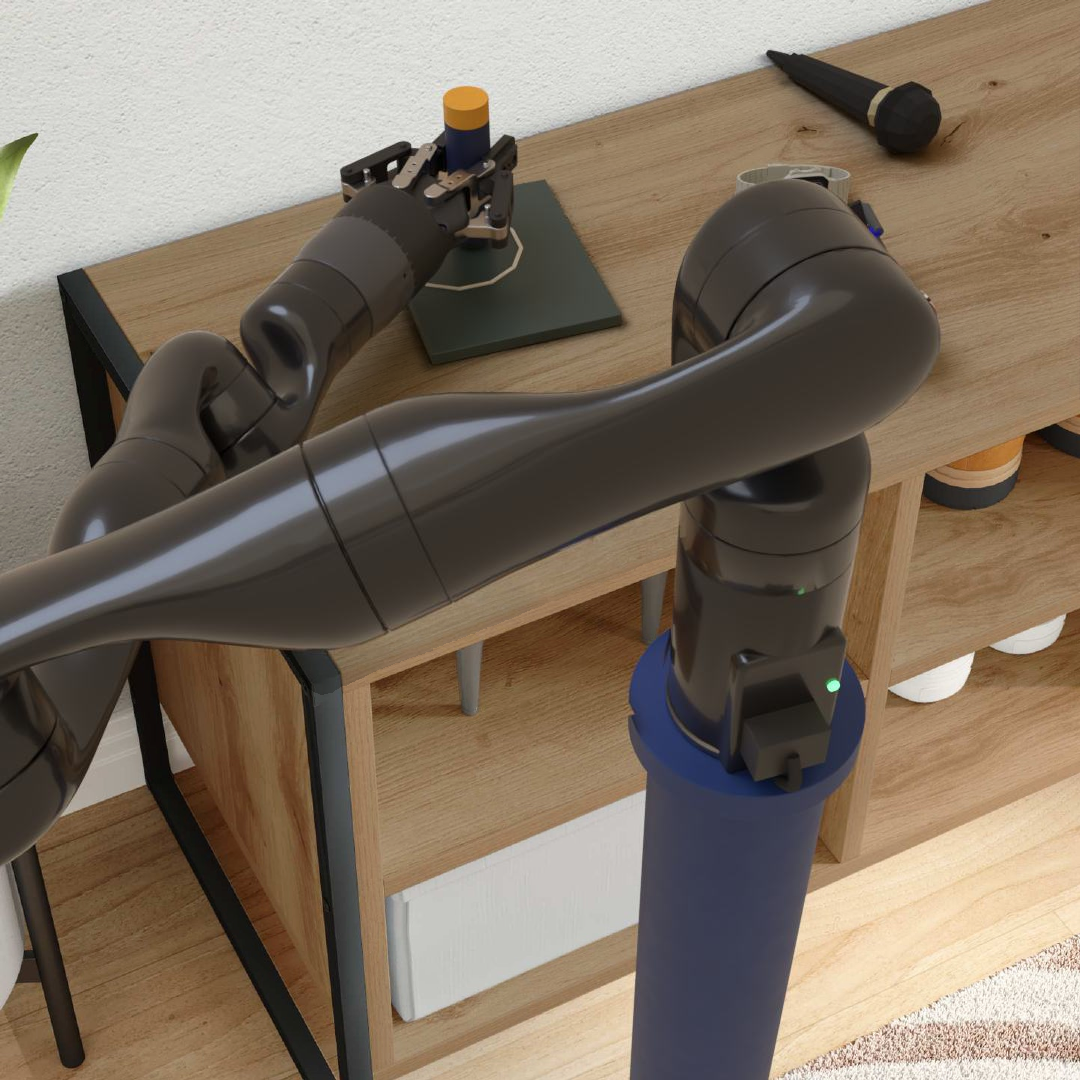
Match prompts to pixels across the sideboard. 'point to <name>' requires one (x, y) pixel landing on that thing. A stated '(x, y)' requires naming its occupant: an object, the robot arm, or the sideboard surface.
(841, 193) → the wristwatch
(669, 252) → the sideboard surface
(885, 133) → the microphone
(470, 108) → the marker
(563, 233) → the slate
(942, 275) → the sideboard surface
